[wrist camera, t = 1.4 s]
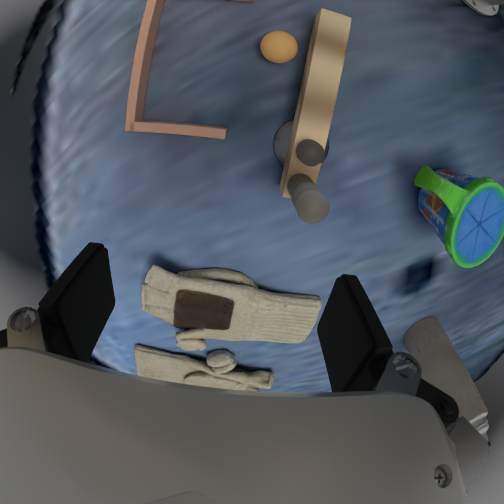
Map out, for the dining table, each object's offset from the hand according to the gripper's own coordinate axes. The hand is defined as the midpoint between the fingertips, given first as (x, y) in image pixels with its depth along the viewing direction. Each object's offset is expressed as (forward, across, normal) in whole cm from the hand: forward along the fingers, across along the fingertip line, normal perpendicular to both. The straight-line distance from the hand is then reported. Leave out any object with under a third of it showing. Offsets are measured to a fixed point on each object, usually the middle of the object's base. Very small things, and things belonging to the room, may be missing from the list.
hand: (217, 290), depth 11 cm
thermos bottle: (+21, -38, +23) cm, 49 cm away
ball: (+21, -2, -14) cm, 25 cm away
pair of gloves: (+22, 0, +28) cm, 36 cm away
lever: (+20, -7, -9) cm, 23 cm away
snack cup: (+21, -26, -2) cm, 34 cm away
